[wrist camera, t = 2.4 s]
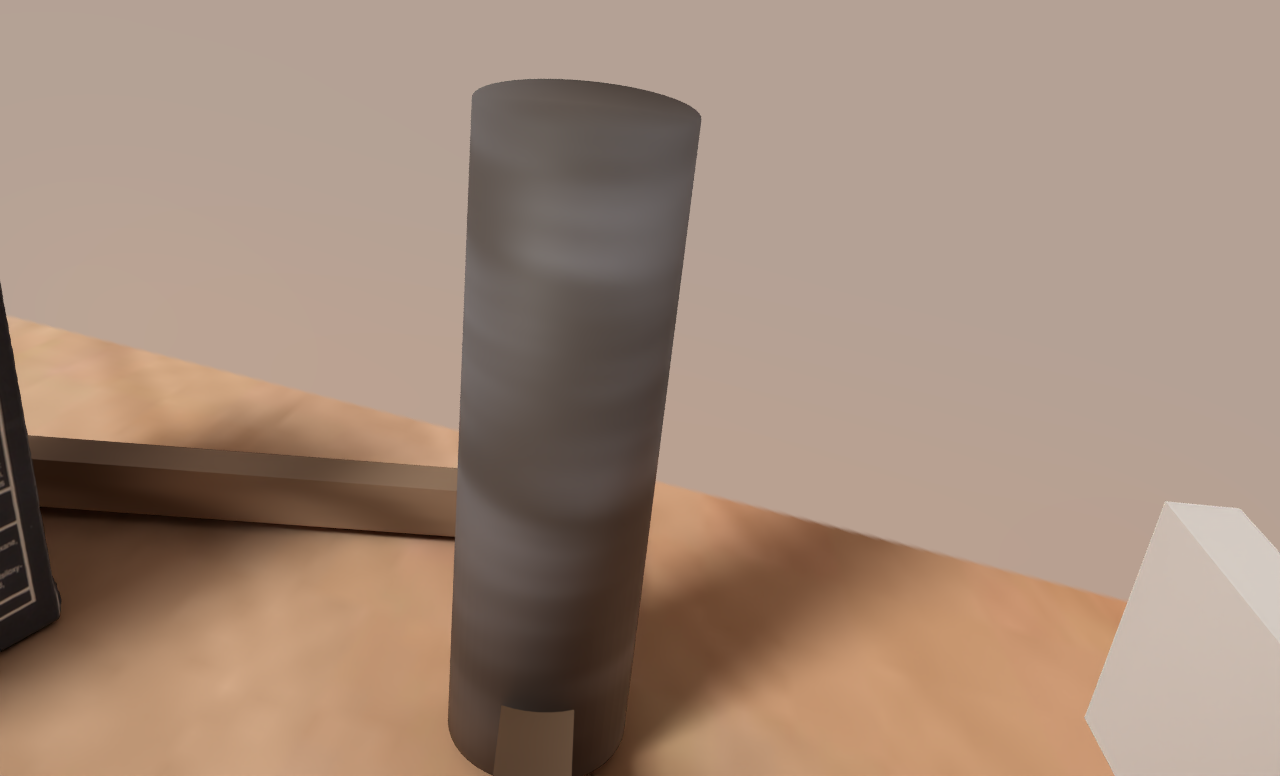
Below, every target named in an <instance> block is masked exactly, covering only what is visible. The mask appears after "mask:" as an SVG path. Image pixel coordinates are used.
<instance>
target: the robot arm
mask: <svg viewBox="0 0 1280 776" xmlns="http://www.w3.org/2000/svg"><path fill="white" fill-rule="evenodd" d="M1085 720H1086V722H1087V723H1088V725H1089V727H1090V729H1091V731H1092V733H1093V735H1094V737H1095V739H1096V741H1097V743H1098V744H1099V746H1100V748H1101V750H1102V752H1103V754H1104V756H1105V758H1106V760H1107V762H1108V764H1109V765H1110V767H1111V769H1112V771H1113V773H1114V775H1115V776H1280V552H1279V551H1278V550H1277V549H1276V548H1275V547H1274V546H1273V545H1272V543H1270V541H1269V540H1268V539H1267V538H1266V537H1265V536H1264V535H1263V534H1262V532H1261V531H1260V530H1259V529H1258V528H1257V527H1256V526H1255V525H1254V524H1253V522H1252V521H1251V520H1250V519H1249V518H1248V517H1247V516H1246V515H1245V514H1244V513H1243V511H1242V510H1241V509H1239V508H1229V507H1219V506H1209V505H1198V504H1188V503H1177V502H1167V501H1166V502H1165V503H1164V506H1163V509H1162V511H1161V514H1160V517H1159V519H1158V522H1157V525H1156V528H1155V530H1154V533H1153V535H1152V538H1151V541H1150V543H1149V546H1148V549H1147V551H1146V554H1145V557H1144V560H1143V562H1142V565H1141V568H1140V570H1139V573H1138V576H1137V578H1136V581H1135V584H1134V587H1133V589H1132V592H1131V594H1130V597H1129V600H1128V602H1127V605H1126V608H1125V610H1124V613H1123V616H1122V619H1121V621H1120V624H1119V627H1118V629H1117V632H1116V635H1115V637H1114V640H1113V643H1112V645H1111V648H1110V651H1109V653H1108V656H1107V659H1106V661H1105V664H1104V667H1103V669H1102V672H1101V675H1100V677H1099V680H1098V683H1097V686H1096V688H1095V691H1094V694H1093V696H1092V699H1091V702H1090V704H1089V707H1088V710H1087V712H1086V715H1085Z"/></svg>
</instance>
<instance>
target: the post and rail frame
mask: <svg viewBox="0 0 1280 776" xmlns="http://www.w3.org/2000/svg"><path fill="white" fill-rule="evenodd" d="M700 126H701V116H700V114H699V113H698V112H697V111H696V110H695V109H693V108H692V107H691V106H689V105H687V104H685V103H683V102H681V101H678V100H676V99H673V98H670V97H667V96H665V95H661V94H657V93H654V92H650V91H646V90H642V89H637V88H632V87H627V86H621V85H615V84H608V83H600V82H591V81H581V80H563V79H527V80H526V79H525V80H513V81H505V82H500V83H494V84H490V85H487V86H484V87H482V88H480V89H478V90H477V91H475V92H474V94H473V95H472V110H471V137H470V163H469V188H468V214H467V240H466V266H465V294H464V320H463V344H462V346H463V347H462V371H461V397H460V422H459V448H458V468H446V467H433V466H420V465H407V464H394V463H381V462H368V461H355V460H342V459H329V458H316V457H303V456H290V455H277V454H264V453H251V452H238V451H225V450H212V449H199V448H186V447H173V446H160V445H147V444H134V443H121V442H108V441H95V440H82V439H69V438H56V437H43V436H30V435H28V441H29V447H30V451H31V458H32V461H33V469H34V475H35V479H36V485H37V491H38V497H39V506H42V507H56V508H70V509H83V510H97V511H111V512H124V513H138V514H152V515H165V516H179V517H193V518H207V519H220V520H234V521H248V522H261V523H275V524H289V525H302V526H316V527H330V528H343V529H357V530H371V531H385V532H398V533H412V534H426V535H439V536H453V537H455V552H454V578H453V604H452V630H451V656H450V682H449V708H448V726H449V731H450V735H451V738H452V740H453V742H454V744H455V746H456V747H457V748H458V750H459V751H460V752H461V754H462V755H463V756H464V757H465V758H466V759H467V760H468V761H470V762H471V763H472V764H474V765H475V766H476V767H478V768H480V769H481V770H483V771H485V772H486V773H489V774H491V775H493V776H584V775H586V774H588V773H590V772H592V771H594V770H595V769H597V768H599V767H600V766H601V765H603V764H604V763H605V762H606V761H607V760H608V759H609V758H610V757H611V756H612V755H613V754H614V752H615V751H616V749H617V748H618V746H619V744H620V742H621V740H622V736H623V732H624V725H625V717H626V709H627V701H628V693H629V685H630V678H631V670H632V662H633V654H634V646H635V638H636V630H637V622H638V615H639V607H640V599H641V591H642V583H643V575H644V567H645V559H646V551H647V544H648V536H649V528H650V520H651V512H652V504H653V496H654V488H655V481H656V472H657V465H658V457H659V449H660V441H661V433H662V425H663V416H664V410H665V402H666V394H667V386H668V378H669V370H670V361H671V354H672V346H673V339H674V338H673V337H674V330H675V323H676V315H677V307H678V299H679V291H680V283H681V275H682V268H683V260H684V252H685V244H686V236H687V227H688V220H689V213H690V204H691V197H692V189H693V181H694V172H695V165H696V157H697V149H698V141H699V133H700Z"/></svg>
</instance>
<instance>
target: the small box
mask: <svg viewBox="0 0 1280 776" xmlns="http://www.w3.org/2000/svg"><path fill="white" fill-rule="evenodd" d="M60 611H61V597H60V593H59V591H58V589H57V584H56V582H55V581H54V579H53V576H52V573H51V567H50V561H49V555H48V549H47V544H46V540H45V534H44V528H43V521H42V515H41V512H40V509H39V497H38V491H37V485H36V479H35V475H34V469H33V461H32V458H31V451H30V447H29V441H28V433H27V429H26V425H25V419H24V412H23V408H22V402H21V395H20V390H19V386H18V379H17V374H16V369H15V361H14V355H13V349H12V346H11V338H10V334H9V327H8V322H7V318H6V312H5V307H4V303H3V295H2V289H1V283H0V651H2V650H4V649H6V648H8V647H10V646H11V645H13V644H15V643H17V642H19V641H21V640H22V639H24V638H26V637H27V636H29V635H31V634H33V633H34V632H36V631H38V630H40V629H41V628H43V627H45V626H47V625H48V624H50V623H52V622H54V621H56V620H57V619H58V618H59V616H60Z"/></svg>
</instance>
